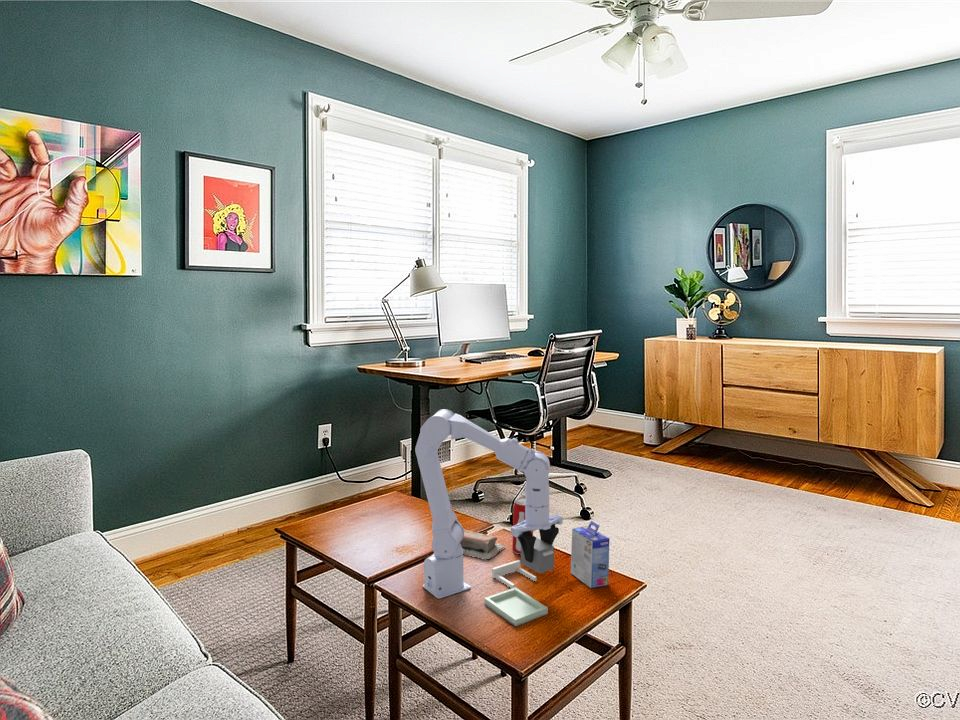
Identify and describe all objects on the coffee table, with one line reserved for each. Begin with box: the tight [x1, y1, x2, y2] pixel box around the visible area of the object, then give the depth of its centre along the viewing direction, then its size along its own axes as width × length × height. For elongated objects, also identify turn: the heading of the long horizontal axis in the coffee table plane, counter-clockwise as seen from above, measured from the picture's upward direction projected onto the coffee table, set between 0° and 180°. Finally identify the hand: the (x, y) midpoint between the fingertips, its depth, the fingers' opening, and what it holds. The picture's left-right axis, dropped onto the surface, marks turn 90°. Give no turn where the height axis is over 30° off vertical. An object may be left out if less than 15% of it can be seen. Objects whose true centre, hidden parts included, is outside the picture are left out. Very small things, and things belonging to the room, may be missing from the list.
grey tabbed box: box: [520, 537, 555, 575], centre depth 146 cm, size 5×8×6 cm, turn 34°
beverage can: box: [511, 497, 534, 556], centre depth 171 cm, size 6×6×15 cm
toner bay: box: [491, 559, 538, 589], centre depth 155 cm, size 9×8×2 cm
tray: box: [484, 586, 549, 627], centre depth 140 cm, size 9×12×2 cm
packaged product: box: [460, 529, 506, 560], centre depth 175 cm, size 18×5×10 cm
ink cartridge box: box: [570, 520, 610, 589], centre depth 154 cm, size 10×6×14 cm, turn 24°
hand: (537, 558), depth 147 cm, fingers closed on grey tabbed box, 5 cm apart
